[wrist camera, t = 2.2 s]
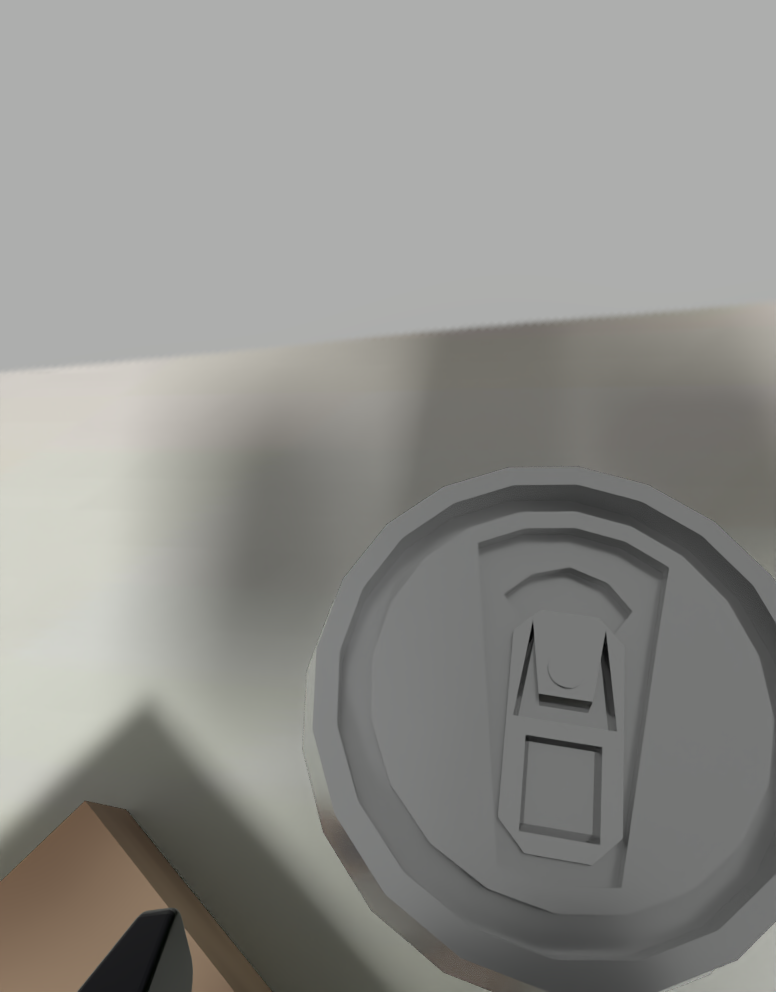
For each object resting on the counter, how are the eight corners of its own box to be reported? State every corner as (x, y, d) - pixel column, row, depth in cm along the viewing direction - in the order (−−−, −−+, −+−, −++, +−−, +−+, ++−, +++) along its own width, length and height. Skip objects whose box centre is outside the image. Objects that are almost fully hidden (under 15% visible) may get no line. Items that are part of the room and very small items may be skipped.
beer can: (579, 948, 16) (915, 1100, 5) (343, 903, 17) (221, 963, 6) (587, 705, 18) (828, 479, 8) (381, 673, 19) (345, 421, 8)
